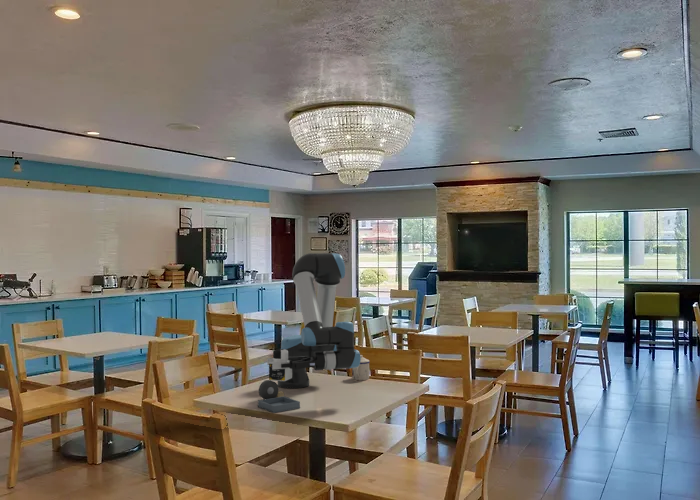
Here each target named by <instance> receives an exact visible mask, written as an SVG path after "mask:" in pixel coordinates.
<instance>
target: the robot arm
mask: <svg viewBox="0 0 700 500" xmlns="http://www.w3.org/2000/svg"><path fill="white" fill-rule="evenodd" d="M291 276H292V281H293V283H294V285H295V286H296V290H297V295H298V299H299V305H300V311H301V315H302V320H303V324H304V325H303V326H304V327H303V328H302V329H301V333H300V334H295V335H290V336H286V337H283V338H282V339H281V342H280V343H281V344H280V349H286V350H288V361H286V362H273V361H274V360H273V357H268V358H266V363H267V364H266V365H267V366H269V363H270V362H272V369H289V368H290V369H292V378H291V379H289V380H287V381H277V382H276V383H277V385H278V388H283V389H302V388H303V389H304V388H307V387H309V386H310V379H309V374H308V372H307V368H313V370H314V371H323V370H325V371H326V370H328V371H329V372H331V371H332V370H344V369H345V370H346V369H352V368H356V367H358V366H359V365H360V361H361V357H360V355H361V353H360V351H359V350H358V349H355V330H354V329H355V328H354V323H353V322H352V321H337V322H335V325H334V326H333V324H334V313H335V304H336V302H335V301H336V295H337V294H336V292H337V286H338V285H340V283H341V280H342V279H344V278H345V277H346V265H345V261H344V259H343V256H342V254H340V253H335V252H334V253H332V252H330V253H329V252H325V253H324V252H317V253H312V252H311V253H310V252H309V253H306V254H303V255H302V256H300V257H299V258H298V259H297V261H296V262H295V264H294V266H293V268H292V275H291ZM314 281H315V283H316V284H317V291H316V289H315V283H314ZM316 292H317V293H316Z"/></svg>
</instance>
